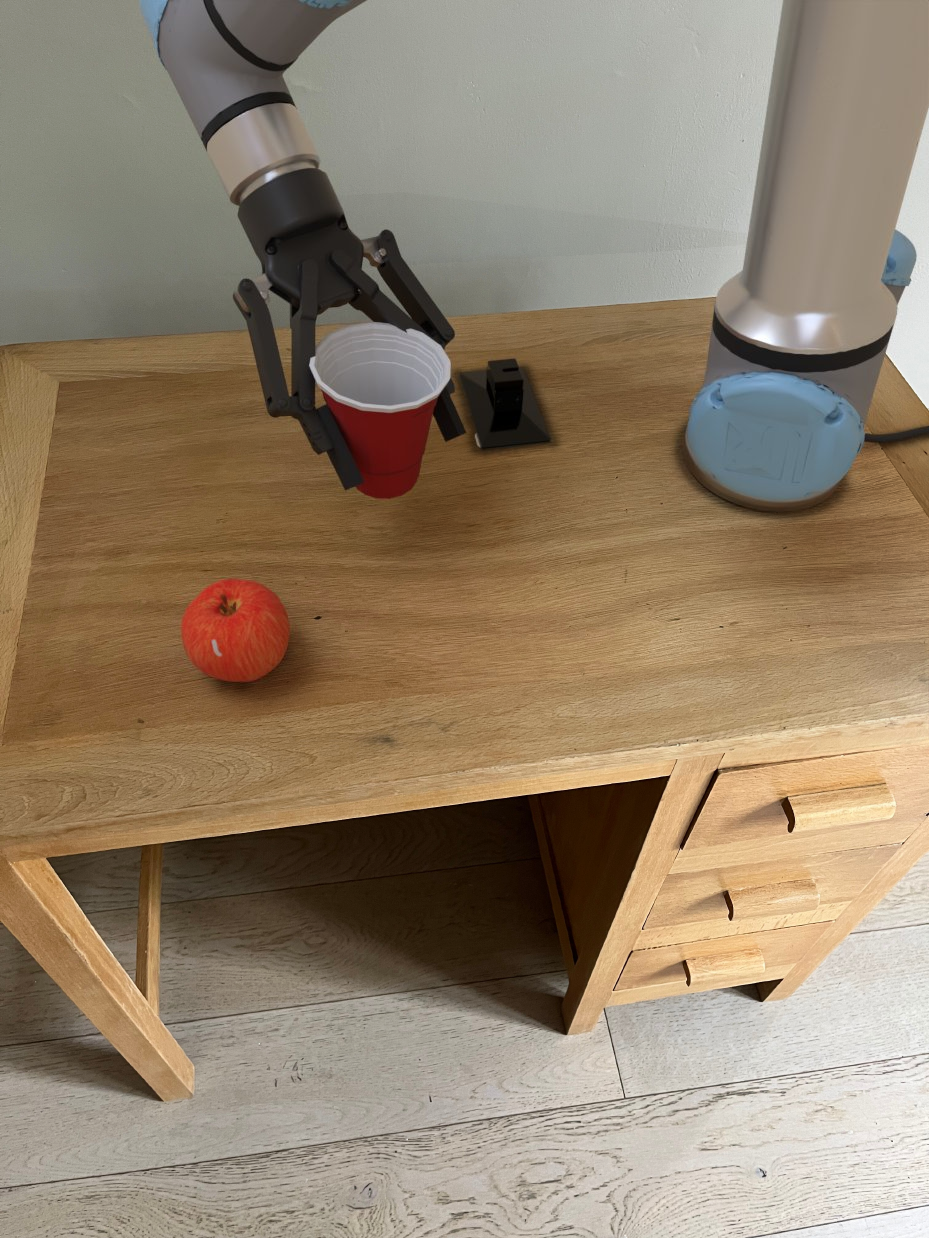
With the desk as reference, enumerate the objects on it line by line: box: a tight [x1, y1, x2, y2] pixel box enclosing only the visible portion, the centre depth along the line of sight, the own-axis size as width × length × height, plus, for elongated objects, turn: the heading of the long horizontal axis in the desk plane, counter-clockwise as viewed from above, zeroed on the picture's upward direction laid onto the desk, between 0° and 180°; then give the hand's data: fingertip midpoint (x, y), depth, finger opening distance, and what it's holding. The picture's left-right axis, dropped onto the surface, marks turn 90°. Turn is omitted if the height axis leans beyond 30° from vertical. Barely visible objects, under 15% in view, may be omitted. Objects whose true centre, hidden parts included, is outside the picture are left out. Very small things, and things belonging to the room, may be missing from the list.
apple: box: [180, 578, 291, 683], centre depth 65 cm, size 8×8×8 cm
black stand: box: [458, 358, 551, 451], centre depth 87 cm, size 12×7×5 cm, turn 11°
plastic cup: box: [309, 321, 452, 500], centre depth 70 cm, size 11×11×12 cm
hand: (406, 461), depth 70 cm, fingers closed on plastic cup, 9 cm apart
